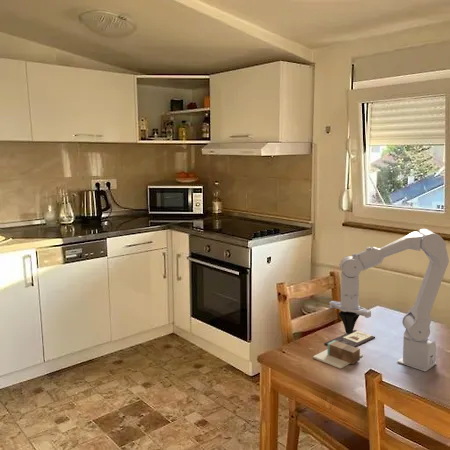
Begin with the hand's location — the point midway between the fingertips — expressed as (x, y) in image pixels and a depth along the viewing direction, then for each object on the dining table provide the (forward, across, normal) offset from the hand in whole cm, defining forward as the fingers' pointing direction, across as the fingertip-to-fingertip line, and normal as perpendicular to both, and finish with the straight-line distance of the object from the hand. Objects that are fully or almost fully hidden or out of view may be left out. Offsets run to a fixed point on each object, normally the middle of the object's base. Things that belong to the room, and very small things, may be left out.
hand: (349, 332), depth 151 cm
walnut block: (+7, +3, 0) cm, 8 cm away
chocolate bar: (+10, -8, +14) cm, 19 cm away
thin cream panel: (+10, -4, 0) cm, 11 cm away
